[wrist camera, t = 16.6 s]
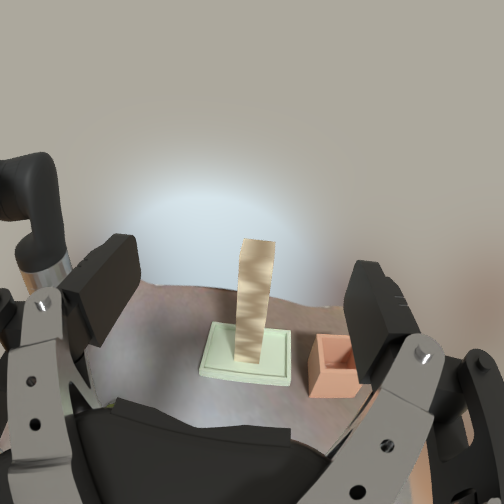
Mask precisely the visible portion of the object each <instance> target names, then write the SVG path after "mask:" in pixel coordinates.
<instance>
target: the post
mask: <svg viewBox="0 0 504 504" xmlns="http://www.w3.org/2000/svg"><path fill="white" fill-rule="evenodd" d="M274 253H275V242H271V241H262V240H253V239H245V238H244V240H243V244H242V247H241V251H240V256H239V274H238V292H237V311H236V331H235V353H234V361H237V362H245V363H253V364H259V361H260V354H261V348H262V341H263V335H264V328H265V321H266V314H267V307H268V300H269V293H270V286H271V279H272V272H273V264H274Z"/></svg>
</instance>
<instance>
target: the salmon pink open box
mask: <svg viewBox="0 0 504 504" xmlns="http://www.w3.org/2000/svg"><path fill="white" fill-rule="evenodd" d="M307 365H308V385H309V398H354V397H355V395H356V394H357V392H358V391H359V389H360V388H361V386H362V385H363V384H359V381H358V376H357V370H356V365H355V360H354V355H353V350H352V345H351V341H350V336H349V335H329V334H317V335H316V338H315V341H314V344H313V346H312V349H311V352H310V355H309V358H308V361H307Z"/></svg>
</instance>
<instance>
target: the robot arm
mask: <svg viewBox="0 0 504 504" xmlns="http://www.w3.org/2000/svg"><path fill="white" fill-rule="evenodd" d="M27 219H30V222H31V228H32V232H31V233H30V234H28V235H27V236H25V237H24V238H23V239H22V240H21V241H20V242H19V243H18V244H17V246H16V249H15V258H16V261H17V264H18V267H19V269H20V272H21V275H22V277H23V280H24V282H25V285H26V287H27V290H28V292H29V294H30V296H29V298H28V299H27V300H26V301H14V299H13V297H12V295H11V293H10V291H9V290H8V289H5V288H0V343H1V344H2V346H3V347H4V349H5V350H6V351H5V353H4V354H3V356H2V357H1V359H0V438H1V435H2V433H3V430H4V428H5V426H6V423H7V421H8V425H9V436H10V444H11V449H9V450H7V451H5V452H3V451H2V449H1V448H0V504H393V503H394V502H395V500H396V498H397V497H398V495H399V493H400V491H401V490H402V488H403V486H404V484H405V482H406V481H407V479H408V477H409V475H410V473H411V471H412V469H413V467H414V465H415V463H416V461H417V459H418V457H419V455H420V452H421V450H422V448H423V446H424V443H425V441H426V442H427V449H428V456H429V463H430V471H431V482H432V495H433V504H504V382H503V379H502V376H501V374H500V372H499V370H498V367H497V365H496V363H495V361H494V359H493V358H492V357H491V356H490V355H489V354H488V353H487V352H485V351H483V350H481V349H472V350H470V351H469V352H468V353H467V355H466V356H465V357H464V359H463V360H461V359H457V358H453V357H449V356H445V354H444V351H443V349H442V347H441V346H440V344H439V343H438V342H437V341H436V340H434V339H433V338H431V337H430V336H427V335H424V334H421V332H420V330H419V327H418V325H417V323H416V321H415V319H414V316H413V314H412V312H411V310H410V308H409V307H408V306H407V302H406V300H405V298H403V297H404V296H403V294H402V292H401V290H400V288H399V286H398V285H397V284H396V283H395V282H393V280H392V279H391V278H390V277H385V275H384V273H383V271H382V269H381V267H380V265H379V263H378V262H372V261H364V260H357V261H356V263H355V265H354V269H353V272H352V275H351V278H350V281H349V284H348V288H347V290H346V294H345V297H344V314H345V318H346V323H347V327H348V332H349V336H350V341H351V345H352V350H353V355H354V360H355V365H356V370H357V376H358V381H359V384H371V386H372V391H371V393H370V394H369V395H368V397H367V398H366V400H365V402H364V403H363V405H362V406H361V408H360V409H359V411H358V412H357V414H356V415H355V417H354V418H353V420H352V421H351V422H350V424H349V425H348V427H347V428H346V429H345V431H344V432H343V434H342V435H341V436H340V437H339V439H338V440H337V441H336V442H335V443H334V445H333V446H332V447H331V448H330V449H329V451H328V452H327V453H326V454H325V455H324V454H322V453H321V452H319V451H318V450H316V449H315V448H313V447H311V446H309V445H307V444H304V443H301V442H299V441H296V440H292V439H291V428H275V427H262V426H251V425H240V426H229V427H215V428H196V427H193V426H190V425H188V424H186V423H184V422H182V421H180V420H177V419H175V418H173V417H171V416H169V415H167V414H165V413H163V412H161V411H159V410H158V409H156V408H152V407H148V406H145V405H141V404H138V403H134V402H131V401H128V400H124V399H121V398H118V397H117V400H116V402H115V404H114V407H105V408H102V407H101V405H100V403H99V400H98V398H97V395H96V391H95V387H94V383H93V378H92V374H91V369H90V364H89V359H88V354H87V352H86V350H85V348H86V347H87V345H88V344H91V345H94V346H97V347H101V346H102V344H103V342H104V341H105V339H106V337H107V336H108V334H109V332H110V330H111V329H112V327H113V326H114V324H115V322H116V321H117V319H118V317H119V316H120V314H121V312H122V311H123V309H124V308H125V306H126V305H127V303H128V301H129V300H130V298H131V297H132V295H133V294H134V292H135V290H136V289H137V287H138V286H139V283H140V279H141V268H140V263H139V256H138V250H137V243H136V239H135V237H134V236H133V235H127V234H117V233H116V234H113V235H112V236H111V237H110V238H109V239H108V240H107V241H106V242H105V243H104V244H103V245H101V246H99V247H98V248H96V249H94V250H93V251H91V252H90V253H89V254H88V255H87V256H86V257H85V258H84V260H82V261H81V262H80V263H79V264H78V265H77V267H75V268H74V269H73V268H72V265H71V262H70V259H69V255H68V251H67V247H66V243H65V234H64V223H63V218H62V212H61V205H60V196H59V186H58V178H57V172H56V167H55V164H54V161H53V159H52V158H51V156H50V155H49V154H48V153H45V152H38V153H33V154H28V155H24V156H20V157H16V158H12V159H7V160H0V220H2V221H8V222H9V221H10V222H11V221H20V220H27ZM467 409H468V410H469V414H470V418H471V421H472V425H473V429H474V439H473V442H472V444H471V445H470V446H469V445H468V441H467V436H466V432H465V428H464V423H463V420H462V416H461V415H462V414H463V413H464V412H465V411H466V410H467Z"/></svg>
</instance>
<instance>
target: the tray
mask: <svg viewBox="0 0 504 504" xmlns="http://www.w3.org/2000/svg"><path fill="white" fill-rule="evenodd" d="M235 331H236V325H234V324H227V323H219V322H212V325H211V329H210V332H209V336H208V340H207V343H206V347H205V350H204V354H203V358H202V361H201V365H200V368H199V374H200V376H204V377H210V378H217V379H224V380H231V381H238V382H247V383H256V384H266V385H278V386H289V385H290V382H291V330H280V329H270V328H264V335H263V341H262V348H261V354H260V361H259V364H253V363H245V362H237V361H234V353H235Z"/></svg>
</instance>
